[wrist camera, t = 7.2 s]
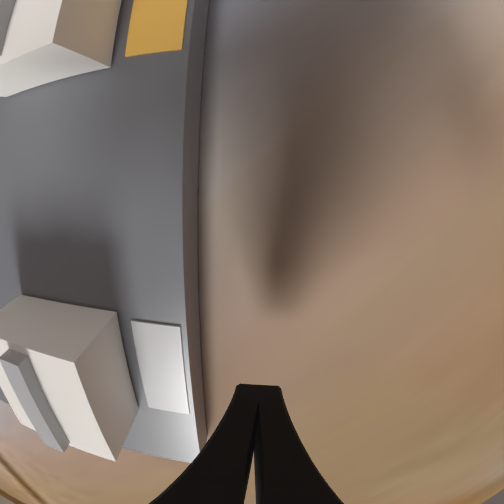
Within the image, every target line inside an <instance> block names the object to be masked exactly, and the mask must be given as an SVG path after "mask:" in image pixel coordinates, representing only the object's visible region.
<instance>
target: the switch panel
mask: <svg viewBox="0 0 504 504" xmlns="http://www.w3.org/2000/svg"><path fill="white" fill-rule="evenodd" d="M208 8H209V0H122V1H121V6H120V11H119V16H118V22H117V27H116V33H115V40H114V46H113V53H112V61H111V68H106V69H101V70H96V71H91V72H87V73H83V74H79V75H75V76H71V77H67V78H63V79H59V80H56V81H52V82H49V83H46V84H43V85H39V86H36V87H33V88H30V89H27V90H24V91H22V92H19V93H16V94H13V95H11V96H8V97H0V309H1V308H2V307H4V306H5V305H6V304H8V303H9V302H10V301H12V300H13V299H15V298H16V297H17V296H19V295H20V294H21V295H25V296H30V297H35V298H40V299H45V300H50V301H55V302H60V303H66V304H71V305H77V306H83V307H89V308H95V309H101V310H108V311H114V312H117V316H118V322H119V327H120V333H121V338H122V343H123V348H124V352H125V357H126V361H127V366H128V370H129V374H130V378H131V382H132V386H133V390H134V394H135V398H136V401H137V405H138V408H139V411H138V413H137V415H136V418H135V420H134V422H133V424H132V426H131V429H130V431H129V433H128V435H127V438H126V440H125V442H124V444H123V447H122V448H124V449H127V450H131V451H135V452H139V453H143V454H148V455H152V456H157V457H162V458H166V459H172V460H177V461H183V462H189V463H192V461H193V460H194V459H195V458H196V457H197V455H198V454H199V453H200V451H201V450H202V449H203V447H204V446H205V444H206V441H207V427H206V416H205V404H204V391H203V376H202V360H201V342H200V320H199V291H198V161H199V132H200V110H201V92H202V77H203V63H204V50H205V39H206V28H207V18H208ZM0 399H1V400H2V401H4V402H6V403H8V404H9V402H8V400H7V398H6V396H5V395H4V393H3V391H2V389H1V387H0Z"/></svg>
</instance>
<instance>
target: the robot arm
mask: <svg viewBox="0 0 504 504" xmlns="http://www.w3.org/2000/svg"><path fill="white" fill-rule="evenodd" d="M253 452H254V465H255V489H256V504H344V503H343V502H342V501H341V500H340V499H339V498H338V497H337V495H336V494H335V493H334V492H333V490H332V489H331V488H330V487H329V485H328V484H327V483H326V481H325V480H324V478H323V477H322V476H321V474H320V473H319V471H318V470H317V468H316V467H315V465H314V463H313V462H312V460H311V458H310V457H309V455H308V453H307V452H306V450H305V448H304V446H303V444H302V442H301V440H300V438H299V436H298V434H297V432H296V430H295V428H294V426H293V423H292V421H291V419H290V416H289V414H288V411H287V408H286V405H285V402H284V399H283V395H282V391H281V388H280V387H279V386H268V385H251V384H239V385H237V386H236V389H235V393H234V395H233V398H232V400H231V402H230V405H229V407H228V409H227V411H226V412H225V414H224V416H223V418H222V420H221V421H220V423H219V425H218V426H217V428H216V430H215V431H214V433H213V434H212V436H211V437H210V439H209V440H208V442H207V443H206V444H205V446H204V447H203V449H202V450H201V451H200V453H199V454H198V455H197V457H196V458H195V459H194V460H193V461H192V463H191V464H190V465H189V466H188V467H187V468H186V469H185V471H184V472H183V473H182V474H181V475H180V476H179V477H178V478H177V479H176V480H175V481H174V482H173V483H172V484H171V485H170V486H169V487H168V488H167V489H166V490H165V491H164V492H162V493H161V494H160V495H159V496H158V497H157V498H155V499H154V500H153V501H152V502H150V503H149V504H244V500H245V495H246V490H247V484H248V479H249V474H250V468H251V463H252V457H253Z"/></svg>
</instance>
